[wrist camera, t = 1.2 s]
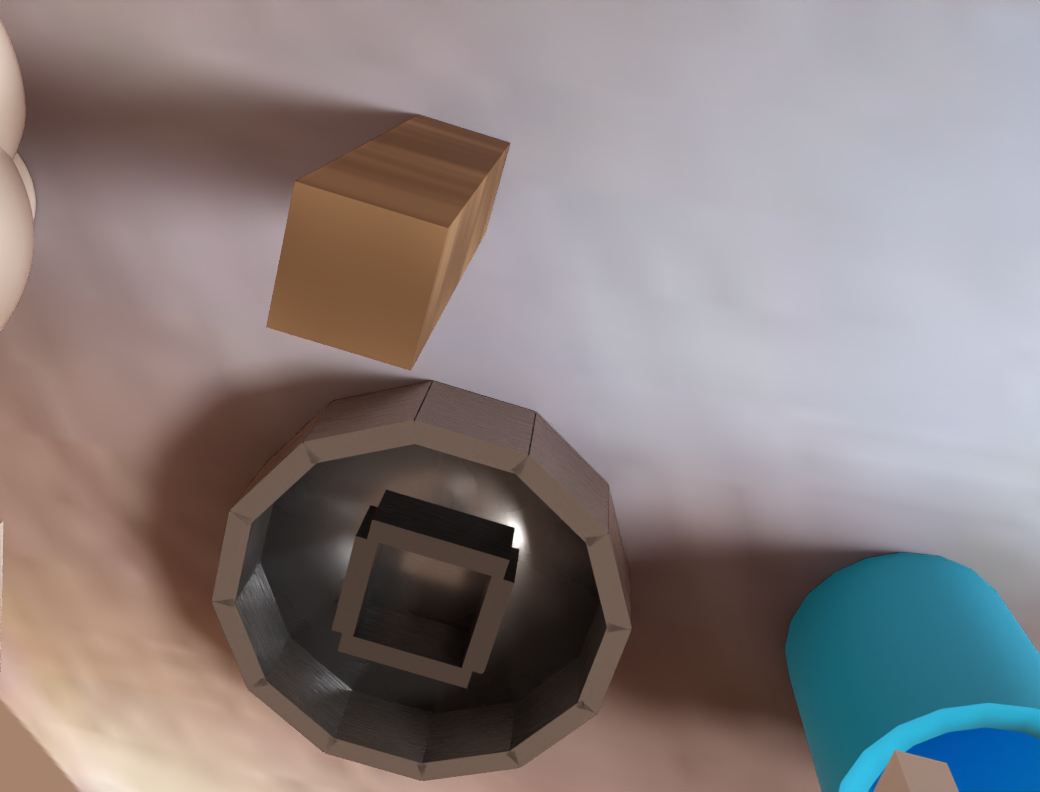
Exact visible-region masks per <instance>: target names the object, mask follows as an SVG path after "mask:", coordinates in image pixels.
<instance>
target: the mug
mask: <svg viewBox="0 0 1040 792" xmlns="http://www.w3.org/2000/svg"><path fill="white" fill-rule="evenodd" d="M785 654H786V660H787V666H788V672H789V677H790V681H791V684H792V688H793V691H794V695H795V699H796V702H797V706H798V709H799V713H800V716H801V720H802V723H803V727H804V731H805V734H806V738H807V741H808V745H809V748H810V752H811V755H812V759H813V763H814V766H815V770H816V773H817V777H818V780H819V784H820V787H821V791H822V792H873V791H874V789H875V787H876V785H877V783H878V781H879V780H880V778H881V776H882V774H883V772H884V770H885V768H886V766H887V764H888V762H889V760H890V758H891V756H892V754H893V752H894V750H898V751H902V752H906V753H910V754H914V755H918V756H922V757H925V758H929V759H933V760H937V761H941V762H945V763H947V764H948V767H949V769H950V772H951V774H952V776H953V779H954V781H955V783H956V786H957V788H958V790H959V792H1040V654H1039V653H1038V652H1037V650H1036V649H1035V647H1034V646H1033V644H1032V643H1031V641H1030V640H1029V638H1028V637H1027V635H1026V634H1025V633H1024V631H1023V630H1022V628H1021V627H1020V625H1019V624H1018V622H1017V621H1016V619H1015V618H1014V616H1013V615H1012V613H1011V612H1010V611H1009V609H1008V608H1007V606H1006V605H1005V603H1004V602H1003V600H1002V599H1001V597H1000V596H999V594H998V593H997V592H996V590H995V589H994V588H992V587H991V586H990V585H989V584H988V583H987V582H986V581H985V580H983V579H982V578H981V577H980V576H979V575H978V574H977V573H976V572H974V571H973V570H972V569H970V568H968V567H965V566H963V565H960V564H958V563H956V562H953V561H951V560H948V559H946V558H944V557H941V556H935V555H926V554H917V553H908V552H901V553H895V554H888V555H882V556H876V557H869V558H866V559H863V560H861V561H859V562H857V563H854V564H852V565H850V566H848V567H845V568H843V569H841V570H839V571H836V572H834V573H833V574H832V575H830V576H829V577H828V578H827V579H826V580H824V581H823V582H822V583H821V584H820V585H818V586H817V587H816V588H815V589H814V590H812V591H811V592H810V593H809V594H808V595H807V596H806V598H805V599H804V601H803V603H802V604H801V606H800V607H799V609H798V610H797V612H796V614H795V615H794V617H793V618H792V620H791V623H790V627H789V632H788V636H787V641H786V645H785Z"/></svg>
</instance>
